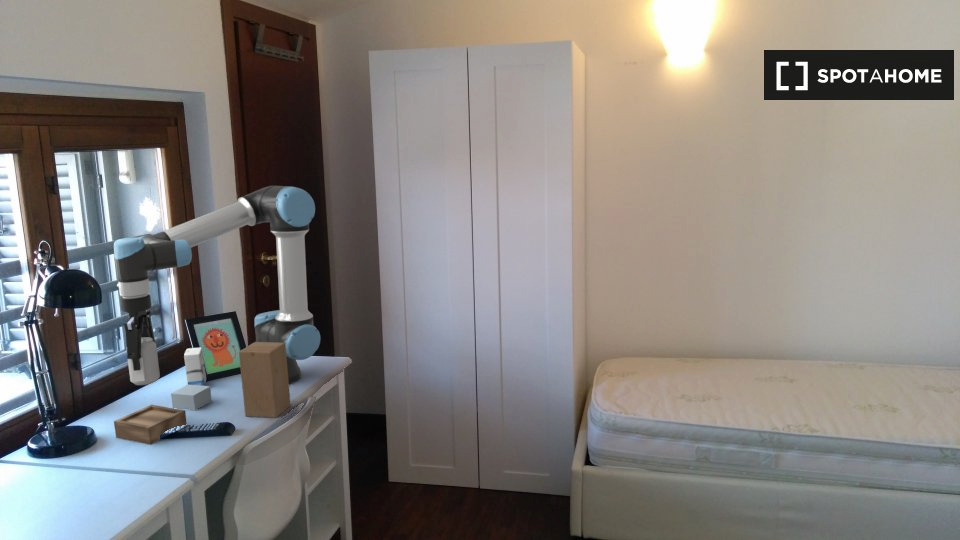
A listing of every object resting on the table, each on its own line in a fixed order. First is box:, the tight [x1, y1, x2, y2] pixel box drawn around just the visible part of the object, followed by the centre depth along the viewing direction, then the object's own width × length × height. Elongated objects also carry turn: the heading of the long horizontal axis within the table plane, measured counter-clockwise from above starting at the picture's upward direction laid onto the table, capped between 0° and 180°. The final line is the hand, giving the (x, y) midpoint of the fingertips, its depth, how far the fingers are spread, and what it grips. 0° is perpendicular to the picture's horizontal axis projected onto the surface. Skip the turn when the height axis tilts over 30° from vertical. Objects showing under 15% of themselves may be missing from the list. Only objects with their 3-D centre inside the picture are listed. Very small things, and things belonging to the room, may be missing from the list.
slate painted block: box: [170, 384, 213, 411], centre depth 230 cm, size 8×8×5 cm
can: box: [125, 337, 161, 386], centre depth 206 cm, size 8×8×12 cm
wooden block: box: [238, 341, 291, 419], centre depth 221 cm, size 10×10×20 cm
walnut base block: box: [113, 404, 188, 445], centre depth 210 cm, size 13×13×5 cm
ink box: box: [183, 347, 207, 386], centre depth 247 cm, size 9×5×12 cm, turn 13°
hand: (144, 375), depth 207 cm, fingers closed on can, 7 cm apart
